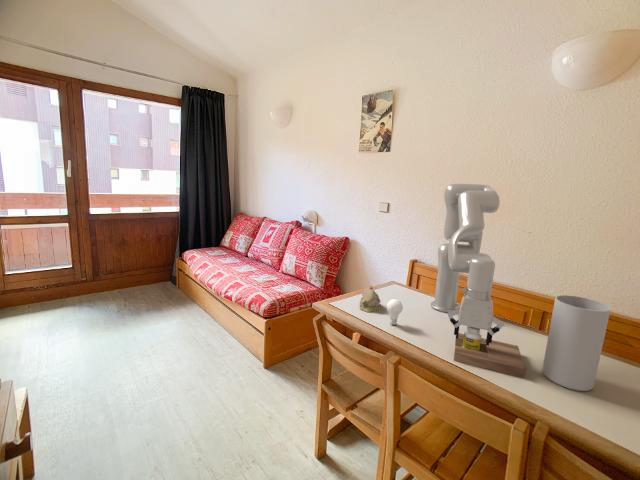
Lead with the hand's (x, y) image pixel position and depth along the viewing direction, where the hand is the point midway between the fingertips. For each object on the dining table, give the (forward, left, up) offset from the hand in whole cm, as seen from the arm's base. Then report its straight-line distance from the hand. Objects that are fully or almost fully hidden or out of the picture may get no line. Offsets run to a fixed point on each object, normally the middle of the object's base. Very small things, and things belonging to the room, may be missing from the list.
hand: (471, 340), depth 107 cm
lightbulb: (-9, -29, -5) cm, 31 cm away
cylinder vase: (+2, +27, -5) cm, 28 cm away
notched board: (0, +5, -5) cm, 7 cm away
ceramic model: (-23, -43, -5) cm, 49 cm away
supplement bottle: (0, 0, -5) cm, 5 cm away
